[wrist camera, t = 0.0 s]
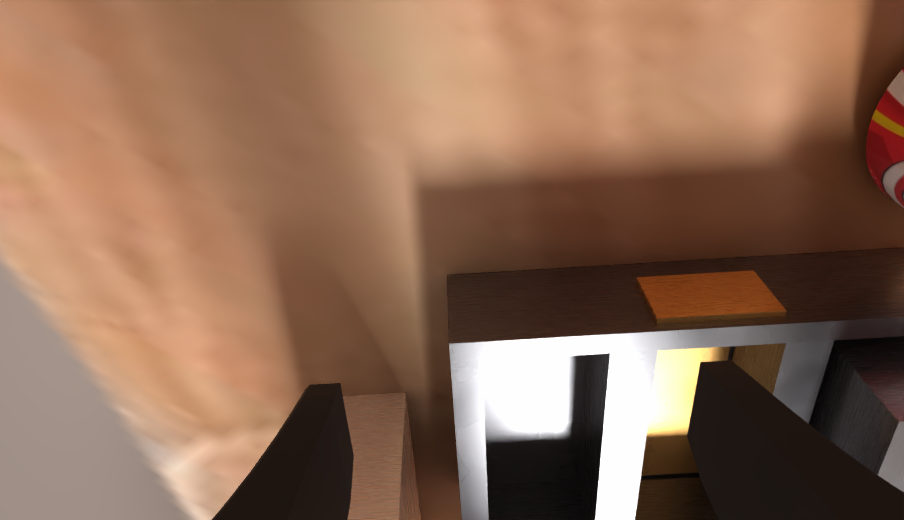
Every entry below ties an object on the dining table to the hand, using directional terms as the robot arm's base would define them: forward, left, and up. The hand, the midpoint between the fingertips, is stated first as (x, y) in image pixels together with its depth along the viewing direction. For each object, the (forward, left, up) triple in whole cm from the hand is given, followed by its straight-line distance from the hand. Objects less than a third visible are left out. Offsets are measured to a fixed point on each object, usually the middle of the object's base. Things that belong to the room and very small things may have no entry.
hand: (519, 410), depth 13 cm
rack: (-8, -7, -10) cm, 15 cm away
